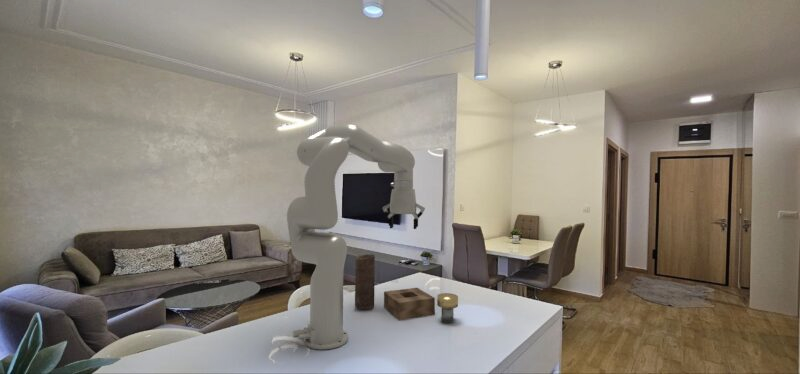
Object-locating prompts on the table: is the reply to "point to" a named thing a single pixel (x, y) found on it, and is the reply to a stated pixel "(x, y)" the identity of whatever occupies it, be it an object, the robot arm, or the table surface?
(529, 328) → the table surface
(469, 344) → the table surface
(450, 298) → the pin
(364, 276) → the brown wooden cylinder
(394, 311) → the block
